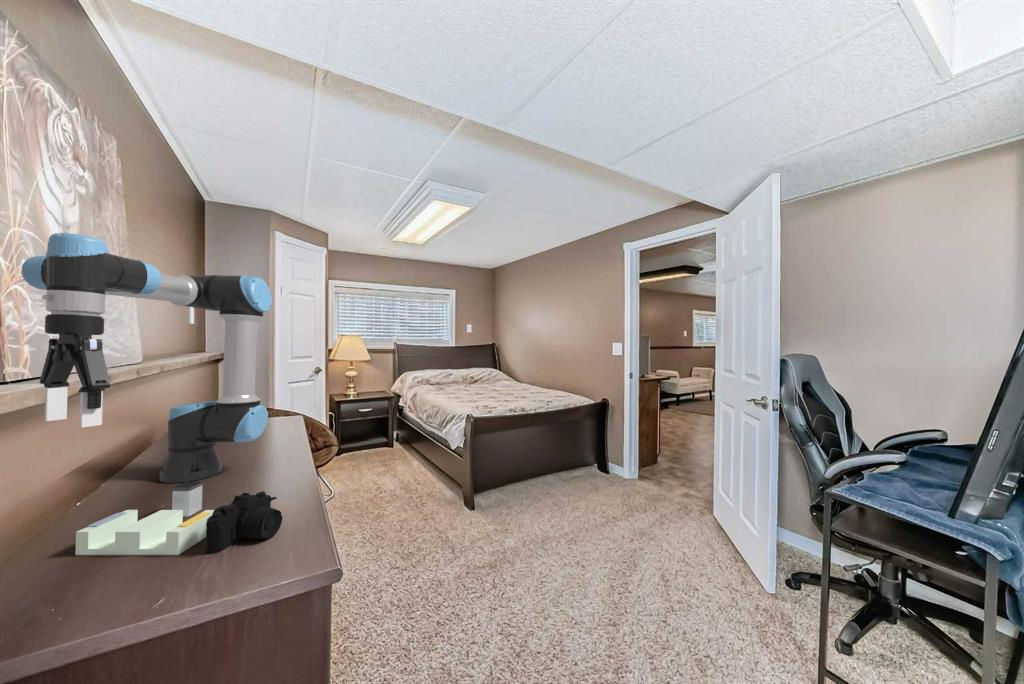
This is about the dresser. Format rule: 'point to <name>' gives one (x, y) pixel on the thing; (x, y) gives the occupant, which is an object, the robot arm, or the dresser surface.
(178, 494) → the plug
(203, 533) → the socket block
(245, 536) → the film camera
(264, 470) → the dresser surface
